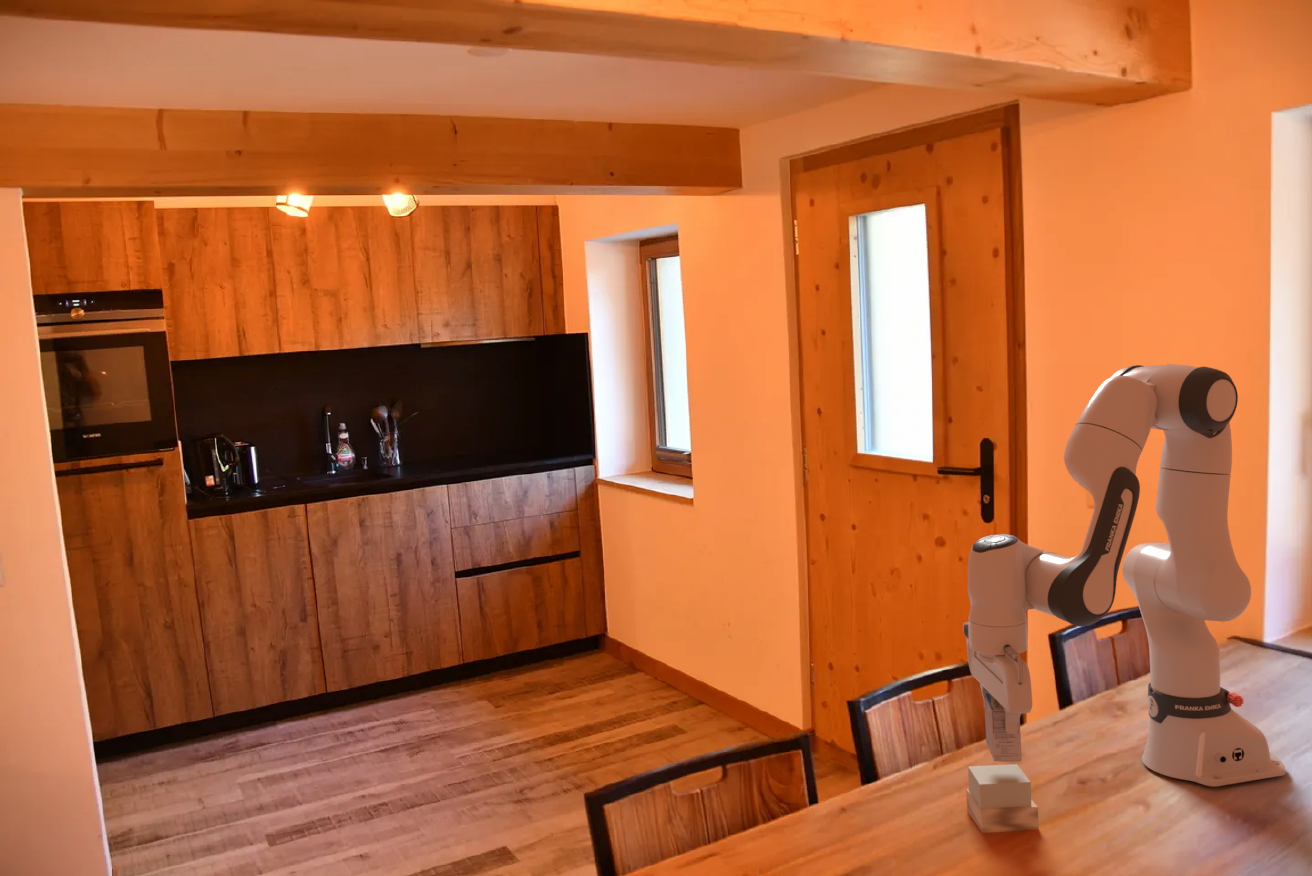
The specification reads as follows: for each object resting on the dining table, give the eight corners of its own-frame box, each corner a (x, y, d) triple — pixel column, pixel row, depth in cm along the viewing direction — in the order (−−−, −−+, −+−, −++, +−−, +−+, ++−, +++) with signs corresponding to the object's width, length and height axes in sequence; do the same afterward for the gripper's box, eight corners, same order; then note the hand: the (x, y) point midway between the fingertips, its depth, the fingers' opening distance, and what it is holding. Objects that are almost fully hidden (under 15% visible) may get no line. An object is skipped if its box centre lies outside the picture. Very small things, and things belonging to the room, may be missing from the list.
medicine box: (1022, 762, 165) (1020, 709, 165) (992, 762, 166) (990, 709, 165) (1013, 743, 173) (1011, 692, 172) (985, 743, 174) (983, 692, 173)
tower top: (1017, 787, 174) (1017, 764, 174) (1031, 806, 167) (1030, 782, 167) (969, 789, 174) (968, 766, 174) (980, 808, 167) (979, 784, 167)
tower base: (1021, 808, 175) (1020, 785, 175) (1038, 831, 167) (1037, 807, 167) (967, 812, 175) (966, 789, 175) (982, 834, 167) (981, 810, 167)
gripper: (1042, 655, 158) (1044, 744, 159) (996, 619, 178) (999, 698, 179) (1000, 658, 158) (1002, 747, 159) (959, 621, 178) (962, 700, 179)
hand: (1000, 721), depth 169 cm, fingers closed on medicine box, 8 cm apart
